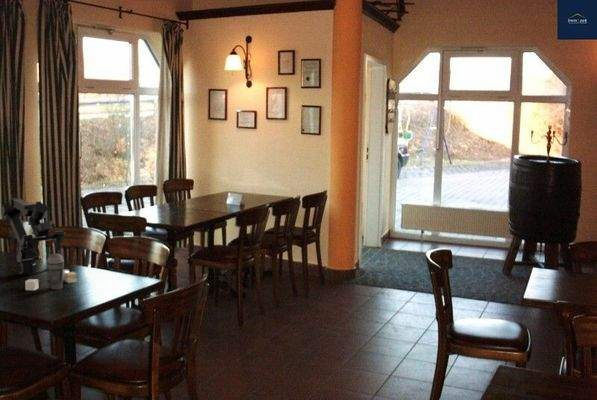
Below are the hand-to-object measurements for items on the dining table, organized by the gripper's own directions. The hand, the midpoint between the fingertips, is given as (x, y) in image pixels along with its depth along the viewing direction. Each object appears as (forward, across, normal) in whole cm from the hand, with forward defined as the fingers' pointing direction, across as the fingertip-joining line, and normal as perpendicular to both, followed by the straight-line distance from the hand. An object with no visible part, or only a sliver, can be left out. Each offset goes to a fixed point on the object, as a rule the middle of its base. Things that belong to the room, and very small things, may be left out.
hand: (49, 253), depth 289 cm
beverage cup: (+15, -1, +5) cm, 16 cm away
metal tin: (+6, +8, +14) cm, 17 cm away
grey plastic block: (+11, -9, +9) cm, 17 cm away
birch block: (+11, +8, +9) cm, 17 cm away
